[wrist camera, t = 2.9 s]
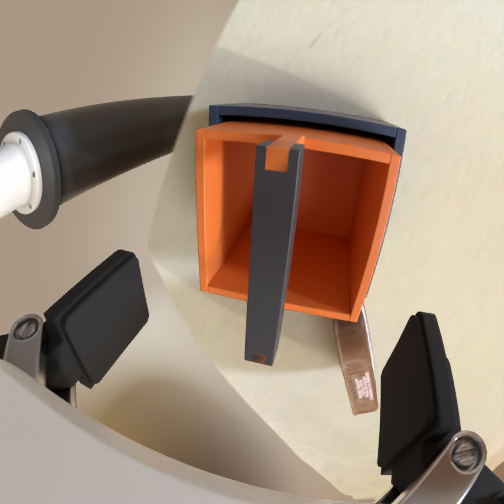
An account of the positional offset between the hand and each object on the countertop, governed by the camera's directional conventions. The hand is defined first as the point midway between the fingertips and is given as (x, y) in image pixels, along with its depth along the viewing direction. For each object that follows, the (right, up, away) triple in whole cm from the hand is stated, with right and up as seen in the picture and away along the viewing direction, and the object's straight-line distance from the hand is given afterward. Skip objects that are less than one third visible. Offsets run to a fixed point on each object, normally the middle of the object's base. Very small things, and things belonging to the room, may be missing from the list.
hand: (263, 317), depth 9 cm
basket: (+4, +8, +14) cm, 17 cm away
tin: (+11, -6, +21) cm, 24 cm away
